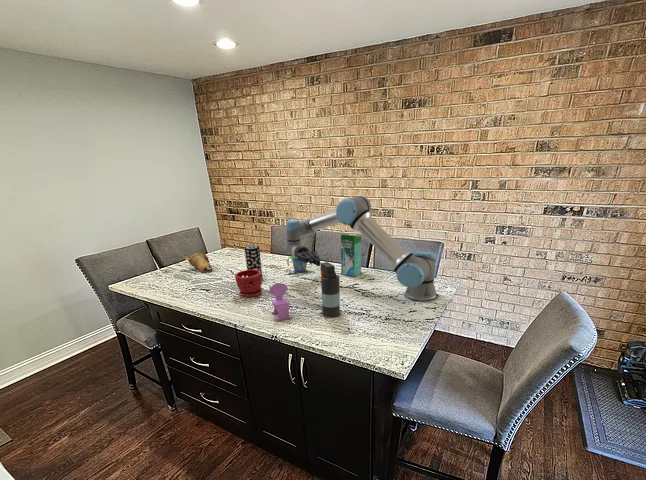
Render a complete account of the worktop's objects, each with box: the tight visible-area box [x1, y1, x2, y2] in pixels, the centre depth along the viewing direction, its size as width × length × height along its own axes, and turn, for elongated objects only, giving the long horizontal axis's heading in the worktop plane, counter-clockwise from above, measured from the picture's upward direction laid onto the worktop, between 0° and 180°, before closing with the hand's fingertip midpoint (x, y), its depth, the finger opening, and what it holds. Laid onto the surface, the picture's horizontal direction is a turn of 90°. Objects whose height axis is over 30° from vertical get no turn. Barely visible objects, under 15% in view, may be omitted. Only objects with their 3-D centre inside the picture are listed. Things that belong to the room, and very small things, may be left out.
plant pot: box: [234, 269, 263, 298], centre depth 177 cm, size 13×13×12 cm
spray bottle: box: [320, 261, 341, 318], centre depth 152 cm, size 11×8×23 cm
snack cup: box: [286, 254, 313, 273], centre depth 213 cm, size 16×10×10 cm
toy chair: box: [268, 282, 292, 321], centre depth 151 cm, size 8×9×15 cm
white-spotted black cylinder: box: [243, 245, 264, 282], centre depth 195 cm, size 8×8×20 cm
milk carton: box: [340, 232, 362, 277], centre depth 204 cm, size 9×9×25 cm
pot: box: [182, 251, 213, 273], centre depth 219 cm, size 17×11×18 cm
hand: (318, 263), depth 163 cm, fingers closed
